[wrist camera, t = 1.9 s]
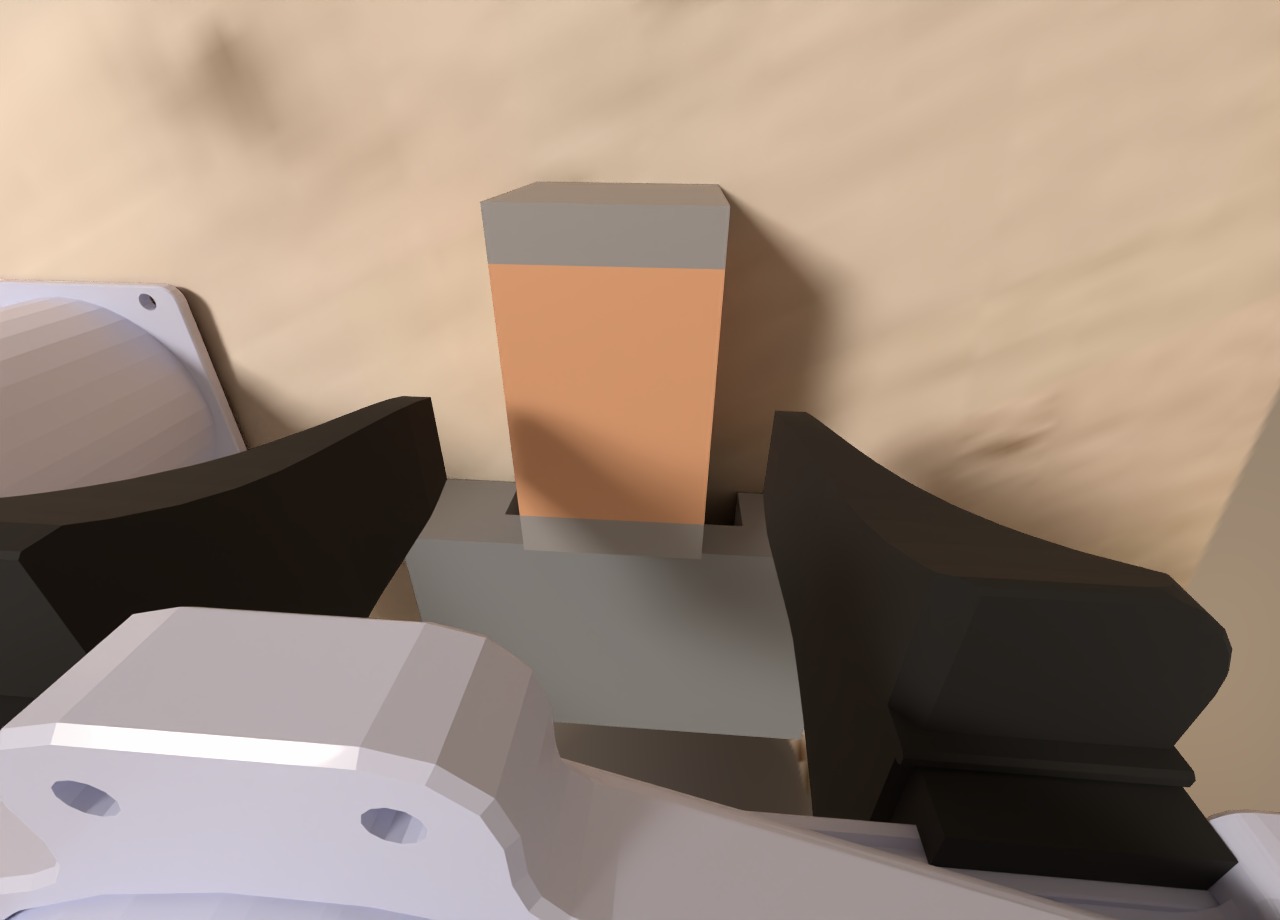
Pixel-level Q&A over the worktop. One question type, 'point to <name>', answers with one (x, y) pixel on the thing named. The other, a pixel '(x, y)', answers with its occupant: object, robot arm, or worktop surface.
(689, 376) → the block
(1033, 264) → the worktop surface
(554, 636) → the stand
